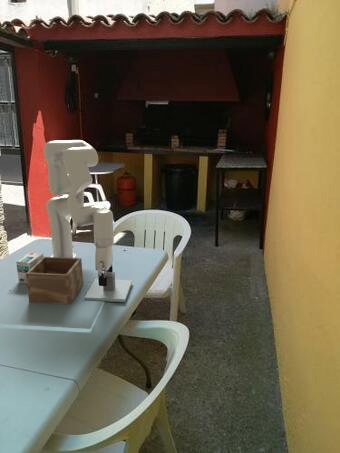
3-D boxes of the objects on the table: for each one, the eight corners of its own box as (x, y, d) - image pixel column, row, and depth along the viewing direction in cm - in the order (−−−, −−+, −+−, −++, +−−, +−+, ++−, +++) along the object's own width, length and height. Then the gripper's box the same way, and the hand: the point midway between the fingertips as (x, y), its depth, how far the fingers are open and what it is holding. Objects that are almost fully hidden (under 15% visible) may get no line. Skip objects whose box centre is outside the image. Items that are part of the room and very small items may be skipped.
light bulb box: (32, 286, 148) (29, 262, 144) (18, 284, 149) (15, 261, 145) (46, 275, 158) (43, 253, 154) (32, 273, 159) (29, 251, 155)
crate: (46, 284, 149) (43, 256, 145) (83, 286, 148) (81, 258, 144) (29, 304, 134) (25, 273, 130) (70, 306, 133) (67, 275, 129)
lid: (95, 283, 152) (94, 265, 149) (132, 285, 151) (131, 266, 148) (84, 302, 136) (83, 282, 134) (125, 304, 135) (124, 284, 133)
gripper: (100, 233, 145) (102, 270, 150) (88, 248, 128) (90, 290, 134) (118, 233, 144) (119, 271, 150) (108, 249, 128) (110, 290, 133)
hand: (105, 280), depth 142 cm, fingers open, 9 cm apart
